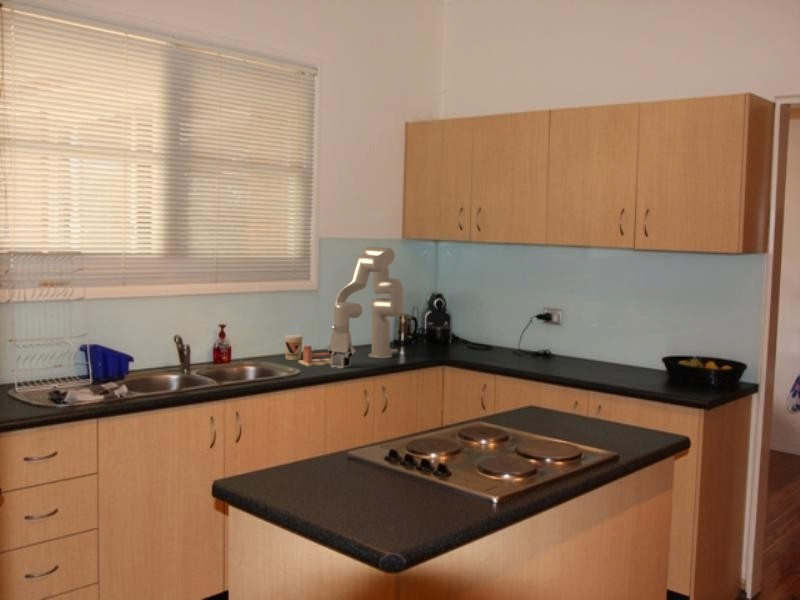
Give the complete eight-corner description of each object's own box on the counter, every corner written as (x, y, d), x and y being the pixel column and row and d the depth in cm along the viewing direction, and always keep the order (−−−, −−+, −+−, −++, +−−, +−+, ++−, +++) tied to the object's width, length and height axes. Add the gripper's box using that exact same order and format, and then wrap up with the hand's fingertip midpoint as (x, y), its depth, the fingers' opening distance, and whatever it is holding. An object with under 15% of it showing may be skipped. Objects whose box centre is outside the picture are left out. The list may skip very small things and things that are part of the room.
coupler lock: (338, 364, 417) (339, 354, 416) (350, 366, 414) (350, 355, 414) (330, 367, 410) (331, 356, 409) (342, 368, 407) (342, 357, 406)
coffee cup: (282, 360, 426) (283, 336, 425) (285, 357, 436) (286, 334, 435) (300, 360, 426) (301, 337, 425) (303, 357, 435) (304, 334, 434)
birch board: (339, 359, 432) (339, 357, 432) (349, 363, 422) (349, 361, 421) (298, 362, 420) (298, 360, 420) (307, 366, 410) (307, 364, 410)
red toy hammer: (327, 359, 425) (327, 344, 424) (332, 361, 420) (332, 345, 419) (301, 361, 418) (301, 345, 417) (306, 363, 413) (306, 347, 412)
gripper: (322, 328, 410) (321, 364, 412) (353, 331, 403) (352, 367, 405) (330, 326, 417) (329, 362, 419) (360, 329, 410) (359, 365, 412)
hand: (340, 364), depth 412 cm, fingers closed on coupler lock, 6 cm apart
